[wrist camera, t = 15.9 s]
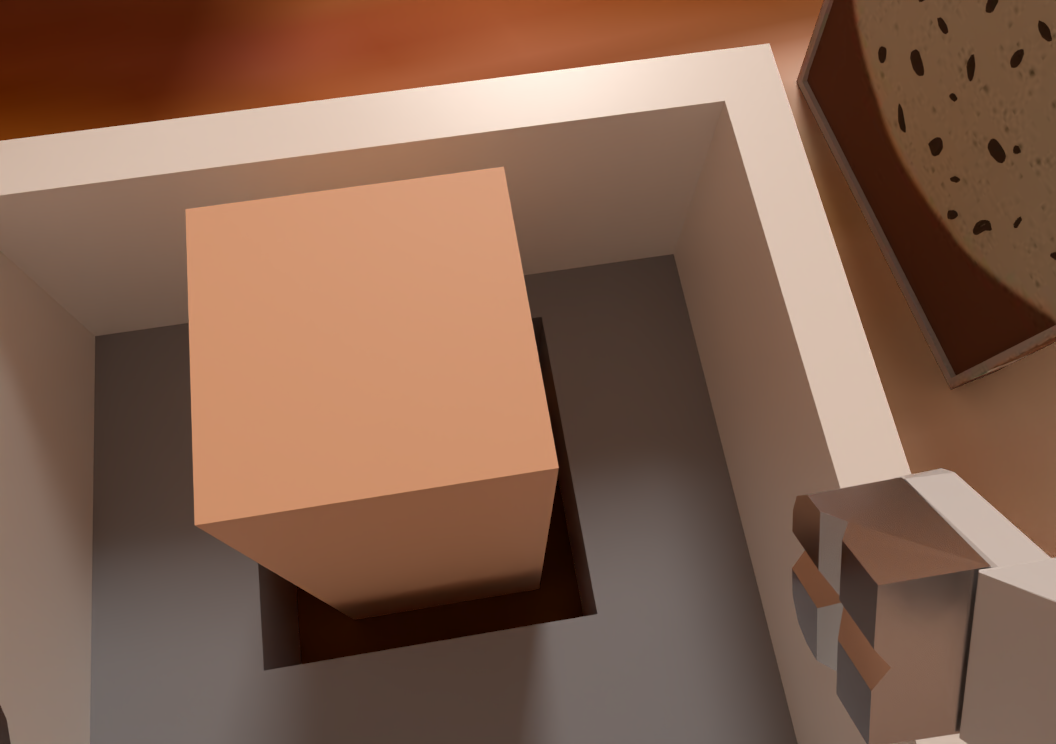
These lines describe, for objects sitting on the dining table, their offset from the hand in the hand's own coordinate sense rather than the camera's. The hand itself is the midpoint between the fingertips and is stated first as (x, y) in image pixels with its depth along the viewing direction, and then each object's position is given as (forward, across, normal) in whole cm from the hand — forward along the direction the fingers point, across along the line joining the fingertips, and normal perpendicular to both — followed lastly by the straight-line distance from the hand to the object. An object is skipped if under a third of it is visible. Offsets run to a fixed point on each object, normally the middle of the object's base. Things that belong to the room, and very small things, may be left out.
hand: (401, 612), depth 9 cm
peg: (+10, 0, +5) cm, 11 cm away
